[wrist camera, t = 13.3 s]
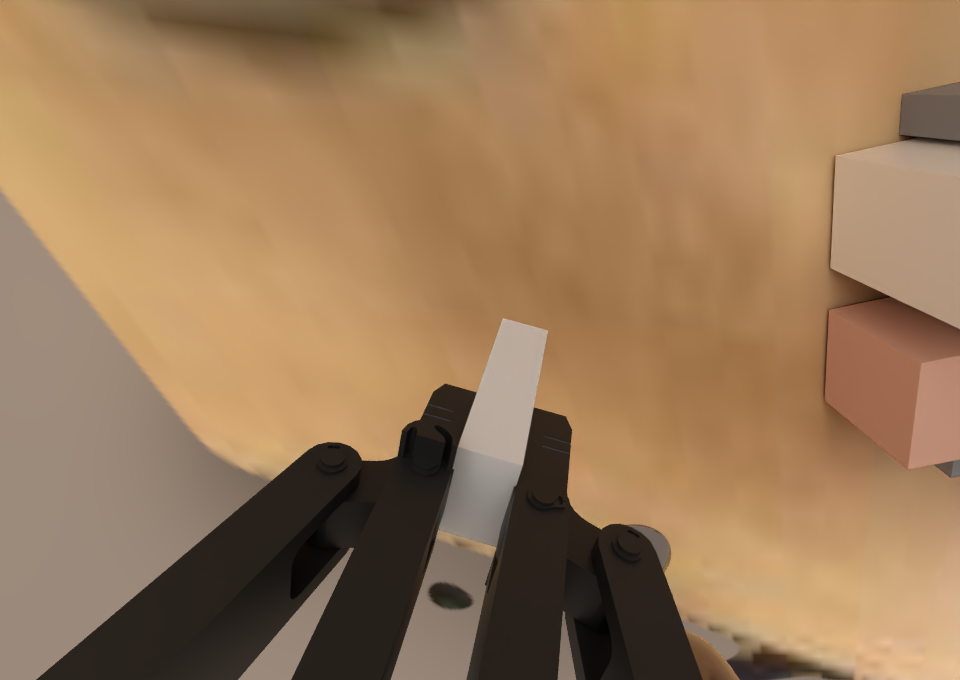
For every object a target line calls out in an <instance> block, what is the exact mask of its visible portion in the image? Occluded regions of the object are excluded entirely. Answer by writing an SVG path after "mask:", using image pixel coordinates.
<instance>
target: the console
mask: <svg viewBox="0 0 960 680" xmlns="http://www.w3.org/2000/svg"><path fill="white" fill-rule="evenodd" d="M899 135H908V136H918V137H928V138H937V139H947V140H956V141H960V82H958V83H953V84H948V85H944V86H939V87H935V88H930V89H926V90H921V91H916V92H912V93H907V94H903V95H902V106H901V117H900V128H899ZM934 465H935V466H936V467H938V468H939V469H940V470H941V471H943V472H944V473H945V474H947V475H948V476H949V477H951V478H952V477H957V476H960V460H954V461H949V462H944V463H939V464H934Z"/></svg>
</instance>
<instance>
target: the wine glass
mask: <svg viewBox="0 0 960 680" xmlns="http://www.w3.org/2000/svg"><path fill="white" fill-rule="evenodd" d="M626 526H630V527H632V528H634V529H636V530H637V531H639V532H641V533H642V534H643V535H644V536H645V537H646V538H648V539H649V540H650V541H651V543H652V545H653V547H654V548H655V550H656V553H657V555H658V558H659V561H660V563H661V566H662V569H663V572H665V571H666V569H667V567H668V565H669V562H670V559H671V549H670V545H669V543H668V541H667V539H666V538H665V537H664V536H663V535H662V534H661V533H660V532H658V531H657V530H655V529H653V528H650V527H647V526H642V525H626ZM685 632H686V635H687V637H688V640H689V643H690V646H691V648H692V651H693V654H694V657H695V659H696V662H697V665H698V668H699V670H700V673H701V676H702V678H703V680H740V679H739V678H738V676H737V675H736V673H735V672H734V670H733V669H732V668H731V667H730V665H729V664H728V663H727V662H726V660H725V659H724V658H723V657H722V655H721V654H720V653H719V652H718V651H717V650H716V649H715V648H714V647H713V646H712V645H711V644H710V643H708V642H707V641H706V640H704V639H702V638H701V637H699V636H697V635H695V634H693V633H691V632H688V631H686V630H685Z"/></svg>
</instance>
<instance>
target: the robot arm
mask: <svg viewBox="0 0 960 680" xmlns="http://www.w3.org/2000/svg"><path fill="white" fill-rule="evenodd" d="M547 334H548V330H545V329H541V328H537V327H534V326H530V325H526V324H523V323H519V322H515V321H512V320H508V319H504V318H503V320H502V322H501V325H500V328H499V331H498V334H497V337H496V340H495V342H494V345H493V348H492V351H491V354H490V357H489V360H488V362H487V365H486V368H485V371H484V374H483V377H482V379H481V382H480V385H479V388H478V391H477V393H476V392H473V391H469V390H466V389H462V388H459V387H455V386H452V385H448V384H444V385H443V386H441V387H440V388H438V389H437V390H435V391H434V392H433V394H432V396H431V398H430V400H429V402H428V405H427V407H426V409H425V411H424V414H423V415H422V417H421V419H420V420H418V421H414V422H412V423H410V424H407V426H406V427H405V428H404V429H403V430H402V434H401V440H400V446H399V452H398V456H397V457H395V458H393V459H389V460H385V461H362V459H361V457H360V455H359V454H358V452H357V451H356V450H354V449H353V448H352V447H350V446H348V445H345V444H342V443H333V442H327V443H323V444H318V445H316V446H314V447H313V448H311V449H309V450H308V451H307V452H305V453H304V454H303V455H302V456H301V457H299V458H298V459H297V460H296V461H295V462H294V463H292V464H291V465H290V466H289V467H288V468H286V469H285V470H284V471H283V472H282V473H281V474H279V475H278V476H277V477H276V478H275V479H273V480H272V481H271V482H270V483H269V484H267V485H266V486H265V487H264V488H263V489H262V490H260V491H259V492H258V493H257V494H256V495H254V496H253V497H252V498H251V499H250V500H249V501H247V502H246V503H245V504H244V505H243V506H241V507H240V508H239V509H238V510H237V511H236V512H234V513H233V514H232V515H231V516H230V517H228V518H227V519H226V520H225V521H224V522H222V523H221V524H220V525H219V526H218V527H217V528H215V529H214V530H213V531H212V532H211V533H209V534H208V535H207V536H206V537H205V538H204V539H202V540H201V541H200V542H199V543H198V544H196V545H195V546H194V547H193V548H192V549H191V550H189V551H188V552H187V553H186V554H185V555H183V556H182V557H181V558H180V559H179V560H178V561H177V562H175V563H174V564H173V565H172V566H171V567H169V568H168V569H167V570H166V571H164V572H163V573H162V574H161V575H160V576H159V577H158V578H156V579H155V580H154V581H153V582H152V583H150V584H149V585H148V586H147V587H145V589H143V590H142V591H141V592H140V593H138V594H137V595H136V596H135V597H134V598H133V599H131V600H130V601H129V602H128V603H127V604H125V605H124V606H123V607H122V608H121V609H119V610H118V611H117V612H116V613H115V614H114V615H112V616H111V617H110V618H109V619H108V620H107V621H105V622H104V623H103V624H102V625H100V627H98V628H97V629H96V630H95V631H93V632H92V633H91V634H90V635H89V636H87V637H86V638H85V639H84V640H83V641H82V642H80V643H79V644H78V645H77V646H76V647H74V649H72V650H71V651H70V652H68V653H67V654H66V655H65V656H64V657H63V658H61V659H60V660H59V661H58V662H57V663H55V664H54V665H53V666H52V667H51V668H50V669H48V670H47V671H46V672H45V673H44V674H43V675H41V676H40V677H39V678H38V679H37V680H238V679H239V678H240V677H241V675H242V674H243V673H244V672H245V671H246V669H247V668H248V667H249V666H250V665H251V664H252V663H253V661H254V660H255V659H256V658H257V657H258V656H259V654H260V653H261V652H262V651H263V650H264V649H265V647H266V646H267V645H268V644H269V643H270V642H271V640H272V639H273V638H274V637H275V636H276V635H277V633H278V632H279V631H280V630H281V629H282V627H283V626H284V625H285V624H286V623H287V622H288V621H289V619H290V618H291V617H292V616H293V615H294V614H295V612H296V611H297V610H298V609H299V608H300V607H301V605H302V604H303V603H304V602H305V601H306V600H307V598H308V597H309V596H310V595H311V594H312V593H313V591H314V590H315V589H316V588H317V587H318V586H319V584H320V583H321V582H322V581H323V580H324V579H325V577H326V576H327V575H328V574H329V572H331V570H332V569H333V568H334V567H335V566H336V565H337V563H338V562H339V561H340V560H341V558H343V556H344V555H345V554H346V553H347V551H348V550H349V548H354V550H353V552H352V554H351V556H350V558H349V560H348V562H347V565H346V566H345V568H344V571H343V573H342V575H341V577H340V579H339V581H338V583H337V585H336V587H335V589H334V592H333V594H332V596H331V598H330V600H329V602H328V604H327V606H326V608H325V610H324V612H323V615H322V617H321V619H320V621H319V623H318V625H317V627H316V629H315V631H314V633H313V635H312V638H311V640H310V642H309V644H308V646H307V648H306V650H305V652H304V654H303V656H302V658H301V661H300V663H299V665H298V667H297V669H296V671H295V673H294V675H293V677H292V680H390V679H391V677H392V673H393V670H394V667H395V664H396V661H397V658H398V655H399V652H400V649H401V646H402V643H403V640H404V637H405V634H406V631H407V628H408V625H409V621H410V618H411V615H412V612H413V609H414V606H415V603H416V600H417V597H418V594H419V590H420V588H421V585H422V581H423V578H424V575H425V572H426V569H427V566H428V563H429V560H430V557H431V554H432V551H433V548H434V543H435V539H436V535H437V532H438V530H441V531H445V532H448V533H451V534H455V535H458V536H461V537H465V538H468V539H471V540H475V541H478V542H481V543H485V544H488V545H491V546H495V547H497V548H496V552H495V555H494V558H493V561H492V564H491V567H490V570H489V574H488V577H487V580H486V583H485V585H486V586H487V587H486V592H485V597H484V601H483V606H482V611H481V615H480V620H479V625H478V629H477V634H476V639H475V643H474V648H473V653H472V657H471V662H470V667H469V671H468V675H467V680H557V679H558V666H559V653H560V640H561V626H562V613H563V611H564V612H565V619H566V625H567V630H568V636H569V641H570V646H571V651H572V658H573V663H574V669H575V674H576V680H703V678H702V676H701V673H700V670H699V668H698V665H697V662H696V659H695V657H694V654H693V651H692V648H691V646H690V643H689V640H688V637H687V635H686V632H685V629H684V626H683V624H682V621H681V618H680V615H679V613H678V610H677V607H676V605H675V602H674V599H673V596H672V594H671V591H670V588H669V585H668V583H667V580H666V577H665V574H664V572H663V569H662V566H661V563H660V561H659V558H658V555H657V553H656V550H655V548H654V547H653V545H652V543H651V541H650V540H649V539H648V538H646V537H645V536H644V535H643V534H642V533H641V532H639V531H637V530H636V529H634V528H632V527H630V526H626V525H622V524H610V525H608V526H606V527H604V528H603V529H602V530H601V529H599V528H597V527H596V526H594V525H592V524H590V523H589V522H587V521H586V520H584V519H583V518H581V517H580V516H579V515H578V514H577V513H576V512H575V511H574V509H573V508H572V506H571V505H570V502H569V498H568V497H567V484H568V472H569V460H570V448H571V445H570V444H571V436H572V429H571V427H570V424H569V422H568V420H567V418H566V416H562V415H559V414H555V413H552V412H548V411H544V410H541V409H537V408H534V403H535V398H536V392H537V387H538V382H539V377H540V371H541V366H542V361H543V355H544V350H545V345H546V339H547Z"/></svg>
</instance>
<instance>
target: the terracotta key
mask: <svg viewBox="0 0 960 680" xmlns="http://www.w3.org/2000/svg"><path fill="white" fill-rule="evenodd" d="M825 401H826V402H827V403H828V404H829V405H831V406H832V407H833V408H834V409H835V410H837V411H838V412H839V413H840V414H841V415H843V416H844V417H845V418H846V419H848V420H849V421H850V422H851V423H852V424H854V425H855V426H856V427H857V428H858V429H860V430H861V431H862V432H863V433H864V434H866V435H867V436H868V437H869V438H870V439H872V440H873V441H874V442H875V443H877V444H878V445H879V446H880V447H881V448H883V449H884V450H885V451H886V452H887V453H889V454H890V455H891V456H892V457H893V458H895V459H896V460H897V461H898V462H899V463H901V464H902V465H903V466H904V467H905V468H907V469H908V470H909V469H914V468H919V467H924V466H929V465H934V464H939V463H944V462H949V461H954V460H960V329H959V328H956V327H954V326H952V325H950V324H948V323H946V322H944V321H942V320H939V319H937V318H935V317H933V316H931V315H929V314H927V313H925V312H922V311H920V310H918V309H916V308H914V307H912V306H910V305H908V304H905V303H903V302H901V301H899V300H897V299H895V298H893V297H888V298H884V299H879V300H874V301H869V302H864V303H859V304H855V305H850V306H845V307H840V308H835V309H830V310H829V322H828V343H827V364H826V384H825Z"/></svg>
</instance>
